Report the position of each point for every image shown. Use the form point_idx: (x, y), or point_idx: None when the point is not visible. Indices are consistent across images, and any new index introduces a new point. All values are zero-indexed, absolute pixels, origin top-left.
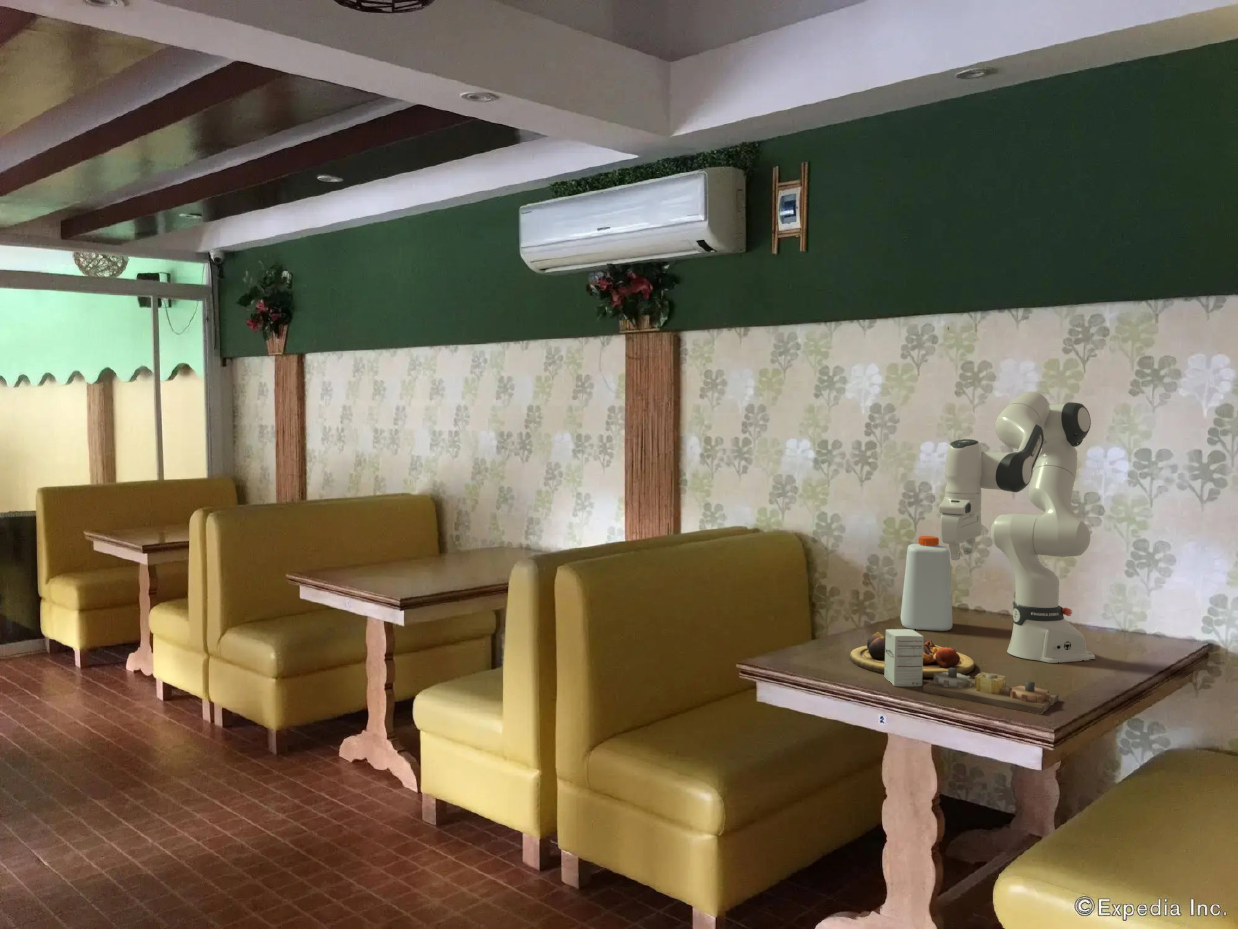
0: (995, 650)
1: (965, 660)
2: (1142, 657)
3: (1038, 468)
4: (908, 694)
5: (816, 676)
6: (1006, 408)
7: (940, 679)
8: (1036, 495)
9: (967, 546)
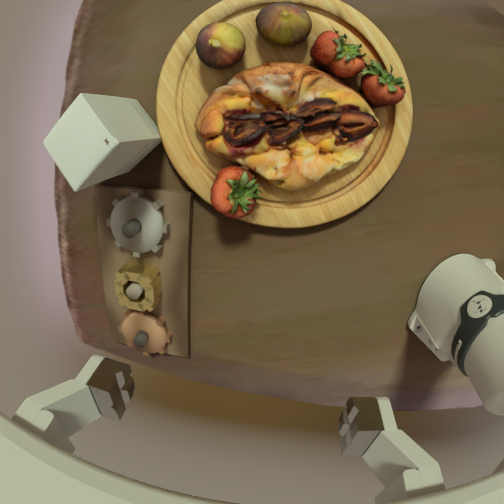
0: (464, 234)
1: (318, 208)
2: (461, 387)
3: None
4: None
5: (94, 17)
6: None
7: (113, 210)
8: None
9: (377, 448)
